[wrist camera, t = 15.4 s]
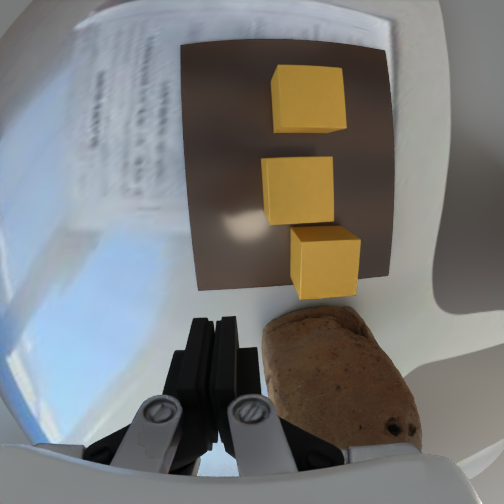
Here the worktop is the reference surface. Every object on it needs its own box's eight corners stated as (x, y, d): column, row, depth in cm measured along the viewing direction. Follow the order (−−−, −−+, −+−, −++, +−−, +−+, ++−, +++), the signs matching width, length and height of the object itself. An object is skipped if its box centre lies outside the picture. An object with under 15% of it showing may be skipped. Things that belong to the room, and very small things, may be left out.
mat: (181, 46, 22) (180, 45, 21) (383, 51, 22) (385, 50, 22) (198, 289, 29) (198, 290, 29) (387, 274, 30) (388, 275, 29)
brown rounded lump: (270, 368, 33) (293, 527, 14) (254, 315, 30) (273, 496, 11) (358, 343, 32) (433, 480, 13) (354, 289, 30) (459, 431, 11)
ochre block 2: (260, 158, 25) (265, 157, 20) (316, 156, 25) (332, 156, 21) (264, 213, 27) (269, 225, 22) (317, 210, 27) (334, 221, 22)
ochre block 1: (270, 80, 23) (277, 64, 18) (324, 82, 23) (342, 67, 18) (273, 133, 25) (281, 127, 20) (328, 133, 25) (346, 128, 20)
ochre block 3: (290, 227, 27) (301, 241, 22) (341, 225, 27) (361, 239, 23) (290, 277, 29) (299, 300, 24) (338, 274, 29) (356, 295, 24)
